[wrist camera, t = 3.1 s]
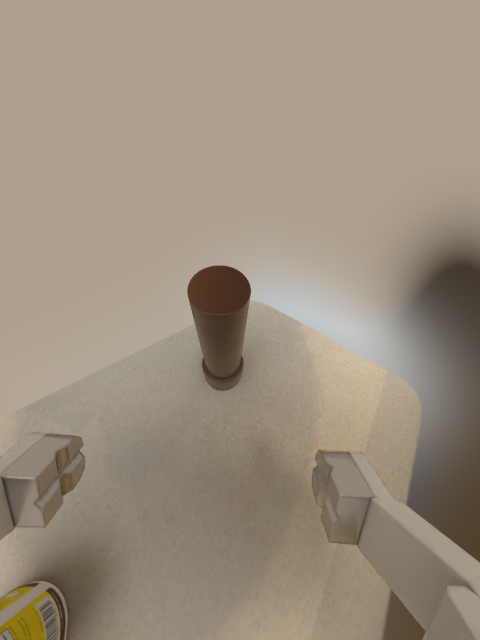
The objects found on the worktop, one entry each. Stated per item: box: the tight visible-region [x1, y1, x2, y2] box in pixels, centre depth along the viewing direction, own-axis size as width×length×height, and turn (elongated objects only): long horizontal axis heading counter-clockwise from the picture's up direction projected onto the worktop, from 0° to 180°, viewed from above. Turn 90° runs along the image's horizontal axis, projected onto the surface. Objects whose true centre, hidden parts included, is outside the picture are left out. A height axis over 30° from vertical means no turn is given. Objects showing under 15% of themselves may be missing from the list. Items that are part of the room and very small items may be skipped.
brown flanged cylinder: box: [188, 266, 251, 390], centre depth 17 cm, size 4×4×14 cm
